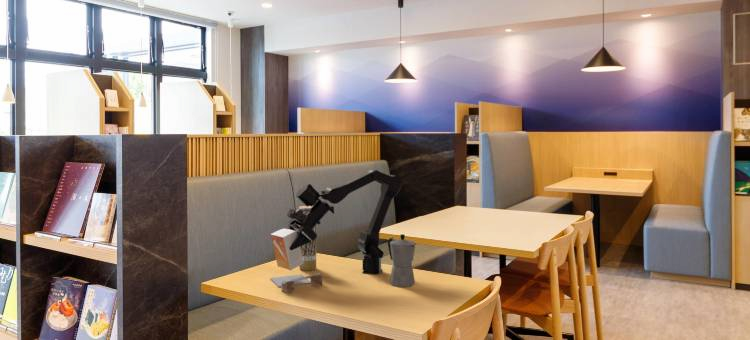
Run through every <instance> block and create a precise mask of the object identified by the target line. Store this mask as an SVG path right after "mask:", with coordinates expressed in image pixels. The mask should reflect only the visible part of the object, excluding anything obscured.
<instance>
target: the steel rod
mask: <svg viewBox="0 0 750 340" xmlns="http://www.w3.org/2000/svg"><path fill="white" fill-rule="evenodd" d="M322 274H323V273H321V272H320V273H316V274H315V273H314V274H310V275H306V276H304V277H300V278H296V279H291V280H286V281H283V282H282V283H283V284H285V283H287V282H291V281H299V280H303V279H307V280H309V279H311V278H313V277H314V276H319V275H322ZM322 276H323V275H322Z"/></svg>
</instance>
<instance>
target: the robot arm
mask: <svg viewBox="0 0 750 340" xmlns="http://www.w3.org/2000/svg"><path fill="white" fill-rule="evenodd" d="M373 182H377V183H379V184H380V197H379V199H378V201H377V204H376V207H375V209H374V212H373V215H372V217H371V220H370V222H369V225H368V228H367V229H366V230H365V231H360V234H359V237H358V239H357V247H358V249H359V250H360V251H361V253H362V255H364V256H363V259H362V272H361V273H363V274H374V275H379V274H380V273H381V272H383V268H382V259H383V258H384V253H385V252H384V251H383V250H382V249H381V248H380V247H379V244H380V232H381V229H382V226H383V225H384V224H383V223H384V222H385V219H386V216H387V213H388V211H389V209H390V205H391V203H392V201H393V199H394V198H395V197H396V195H397V194H399V192H400V190H401V188H402V186H403V181H402V178H401V177H399V175H394V174H386V173H384V172H381V171H379V170H377V169H370V170H368V171H367V172H365V173H362V174H361V175H359V176H357V177H355V178H352V179H350V180H349V181H346V182H344V183H341V184H335V185H331V186H328V187H326V188H325V189H324V190H322V191H321V190H320V191H317V190H316V189H315V188H314V187H313V185H312V184H311V183H307V184H306V185H304V186H302V187H301V188H300V189H298V191H297V192H296V194H295V197H296V198H297V199H298V200H299V201H300V202H301V203H302V204H303V206H307V207H308V206H312V207H311V209H310V210H309V211H308V212H307V211H305V212H304V213H303V211H302V210H300V209H299V208H297V209H296V210H295V209H294V208H289V210H288V212H287V214H286V217H288V218H290V219H289V221H288V224H287V226H288V229H290V230H294V231H297V237H296V239H295V240H294V242H293V243H292V245H291V246H290V248H289V249H290V250H294V249H296V248H298V247H300V246H302V245H304V244H307V243H309V242H312V241H314V240H315V239H316V240H317V238H318V234H317V232H316V233H315V232H314V231H313V228H314V227H315V226H316V227H317V225H318V226H319V225H320V224H322V223H321V220H322V219H323V218H324V217H325V216H326V215H327V214H328V213H330V214H335V206H334V205H336V204H339V203H340V202H342V201H343V200H344V199H346V198H347V197H348V195H349V194H351V193H353V192H355V191H357V190H359V189H361V188H363V187H364V186H365V187H366V186H367V185H369V184H371V183H373ZM321 199H322V200H323V201H322V200H321ZM329 203H330V204H333V205H330V204H329ZM311 240H312V241H311Z"/></svg>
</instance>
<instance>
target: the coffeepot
mask: <svg viewBox="0 0 750 340" xmlns="http://www.w3.org/2000/svg"><path fill="white" fill-rule="evenodd" d="M399 236H400V239H397V238H393V237H389V239H388V241H387V247H388V251H389V257H390V260H391V261H392V266H391V272H390V278H389V283H390V285H391V286H394V287H396V288H397V287H398V288H399V287H400V288H408V287H413V286H414V285H415V284H416V281H415V276H414V275H415V274H414V268H413V266H412V265H413V263H412V262H413V261H414V256H415V255H414V254H415V249H416V242H415V241H414V240H413V241H412V240H410V239H405V236H406V235H405V234H404V233H402V234H400V235H399Z"/></svg>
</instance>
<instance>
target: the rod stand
mask: <svg viewBox="0 0 750 340" xmlns="http://www.w3.org/2000/svg"><path fill="white" fill-rule="evenodd" d="M310 282H311V284H310V285H311V286H313V287H319V286H323V275H319V276H314V277H313V278H310ZM281 292H282V293H285V294H290V293H293V292H295V285H294V281H291V282H287V283H285V284H283V283H282V287H281Z"/></svg>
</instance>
